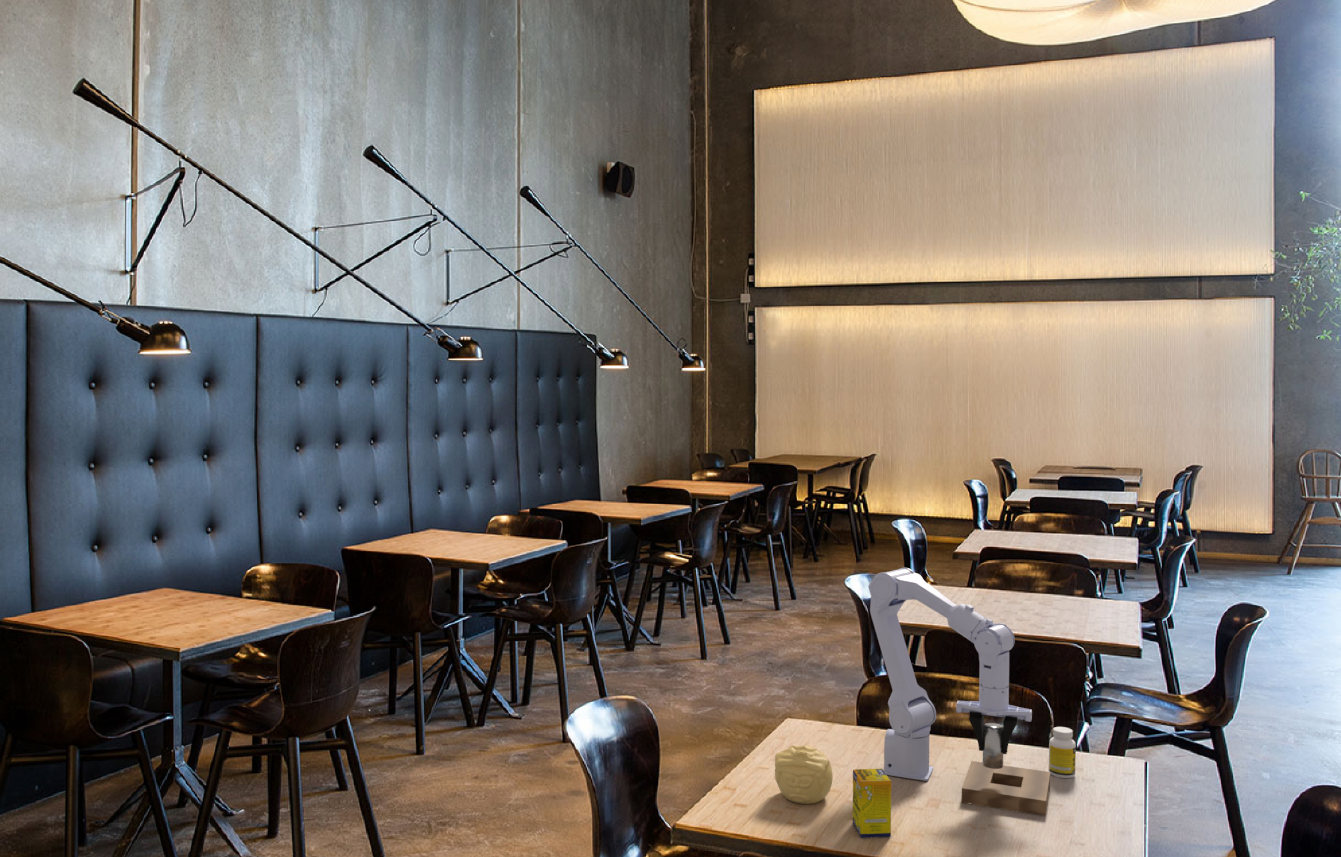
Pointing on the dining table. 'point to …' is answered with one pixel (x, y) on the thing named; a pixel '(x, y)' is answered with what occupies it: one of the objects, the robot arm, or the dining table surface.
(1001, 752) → the steel pin
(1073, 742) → the supplement bottle
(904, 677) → the robot arm
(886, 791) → the supplement box
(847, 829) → the dining table surface
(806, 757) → the sculpture
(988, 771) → the socket block
